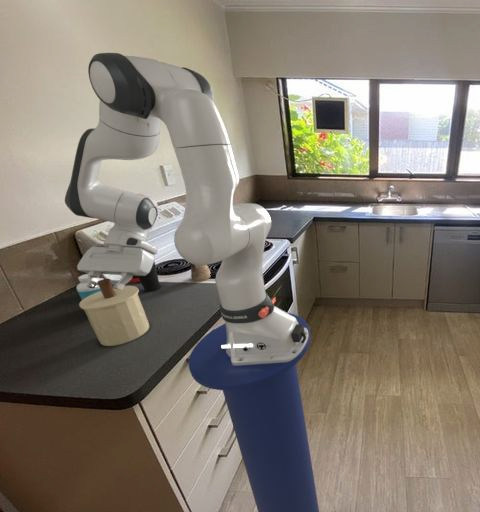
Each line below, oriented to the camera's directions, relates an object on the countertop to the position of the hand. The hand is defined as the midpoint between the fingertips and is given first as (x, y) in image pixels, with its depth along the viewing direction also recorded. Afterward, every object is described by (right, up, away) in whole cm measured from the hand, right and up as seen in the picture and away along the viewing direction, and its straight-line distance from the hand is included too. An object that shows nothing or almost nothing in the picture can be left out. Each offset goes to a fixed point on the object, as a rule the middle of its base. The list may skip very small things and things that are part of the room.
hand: (104, 288), depth 81 cm
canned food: (-24, -1, +41) cm, 47 cm away
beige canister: (0, -14, +7) cm, 16 cm away
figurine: (+1, 0, +42) cm, 42 cm away
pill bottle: (-19, -10, +19) cm, 28 cm away
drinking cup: (-13, -4, +33) cm, 36 cm away
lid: (0, -3, +2) cm, 3 cm away
